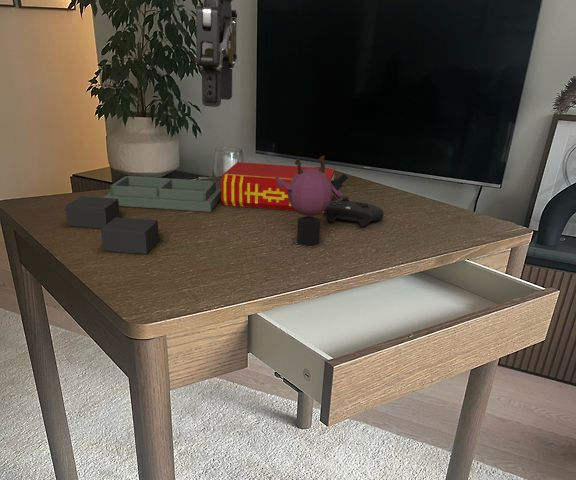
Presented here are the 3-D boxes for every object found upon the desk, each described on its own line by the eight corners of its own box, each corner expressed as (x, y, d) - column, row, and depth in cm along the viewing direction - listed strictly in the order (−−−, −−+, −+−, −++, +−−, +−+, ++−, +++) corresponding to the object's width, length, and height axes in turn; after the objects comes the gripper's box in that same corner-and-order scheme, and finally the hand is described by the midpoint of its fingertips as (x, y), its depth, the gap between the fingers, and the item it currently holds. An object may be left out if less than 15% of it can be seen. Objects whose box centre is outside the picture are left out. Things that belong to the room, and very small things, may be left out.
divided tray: (104, 205, 101) (102, 186, 99) (124, 191, 109) (122, 174, 108) (210, 211, 100) (210, 193, 98) (221, 197, 108) (221, 180, 107)
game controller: (385, 213, 99) (382, 192, 94) (377, 242, 98) (373, 222, 93) (330, 206, 102) (324, 185, 97) (321, 233, 101) (315, 214, 96)
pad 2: (103, 251, 80) (100, 229, 79) (117, 238, 86) (115, 217, 84) (147, 254, 80) (145, 232, 79) (159, 240, 85) (157, 219, 84)
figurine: (343, 239, 89) (350, 154, 83) (323, 254, 83) (330, 164, 77) (294, 231, 92) (298, 148, 86) (271, 244, 86) (273, 156, 80)
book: (221, 206, 103) (220, 175, 101) (237, 189, 114) (237, 162, 111) (326, 214, 101) (328, 184, 99) (332, 196, 112) (334, 169, 110)
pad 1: (67, 226, 90) (64, 205, 88) (83, 215, 95) (80, 196, 93) (107, 228, 89) (104, 208, 88) (120, 218, 94) (118, 198, 93)
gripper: (198, -47, 76) (200, 95, 84) (170, -61, 64) (176, 106, 72) (257, -43, 76) (253, 99, 84) (241, -57, 63) (238, 111, 72)
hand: (217, 102), depth 78 cm, fingers open, 8 cm apart
